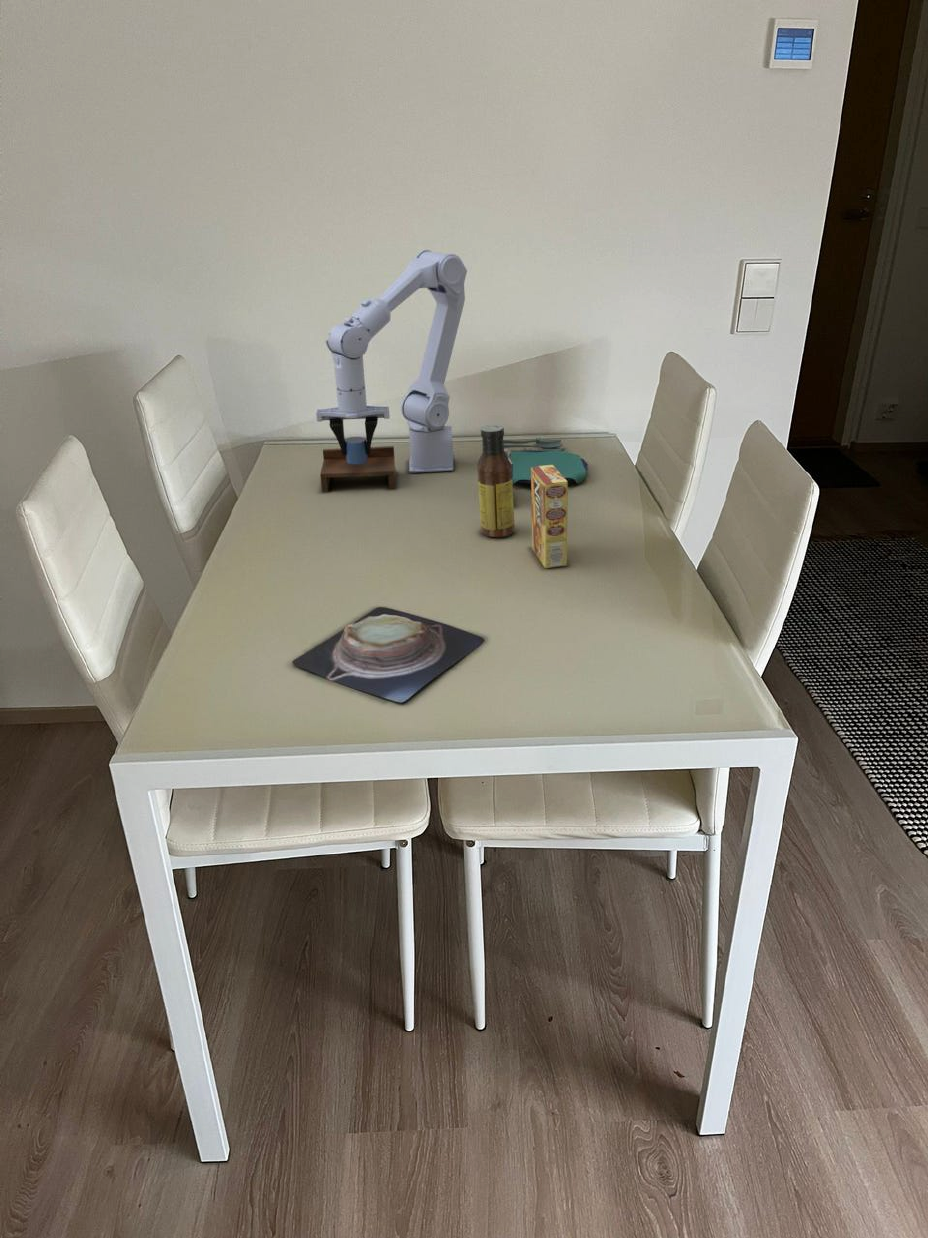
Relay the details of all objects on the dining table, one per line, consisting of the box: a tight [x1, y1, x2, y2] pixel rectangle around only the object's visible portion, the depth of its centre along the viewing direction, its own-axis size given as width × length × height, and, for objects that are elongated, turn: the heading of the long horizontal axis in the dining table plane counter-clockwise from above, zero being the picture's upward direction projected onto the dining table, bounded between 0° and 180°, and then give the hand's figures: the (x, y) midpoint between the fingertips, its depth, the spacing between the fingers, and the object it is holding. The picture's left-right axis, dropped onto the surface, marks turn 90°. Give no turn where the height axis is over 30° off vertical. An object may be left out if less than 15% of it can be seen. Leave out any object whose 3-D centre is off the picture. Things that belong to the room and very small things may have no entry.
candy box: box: [530, 465, 569, 569], centre depth 163 cm, size 9×4×15 cm, turn 12°
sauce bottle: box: [476, 424, 515, 538], centre depth 172 cm, size 7×6×20 cm
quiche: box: [291, 606, 485, 703], centre depth 139 cm, size 21×20×4 cm
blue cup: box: [345, 436, 368, 464], centre depth 197 cm, size 4×4×4 cm
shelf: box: [319, 445, 397, 493], centre depth 201 cm, size 15×10×6 cm, turn 93°
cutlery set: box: [503, 437, 589, 485], centre depth 208 cm, size 20×30×2 cm, turn 1°
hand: (356, 453), depth 197 cm, fingers closed on blue cup, 4 cm apart
